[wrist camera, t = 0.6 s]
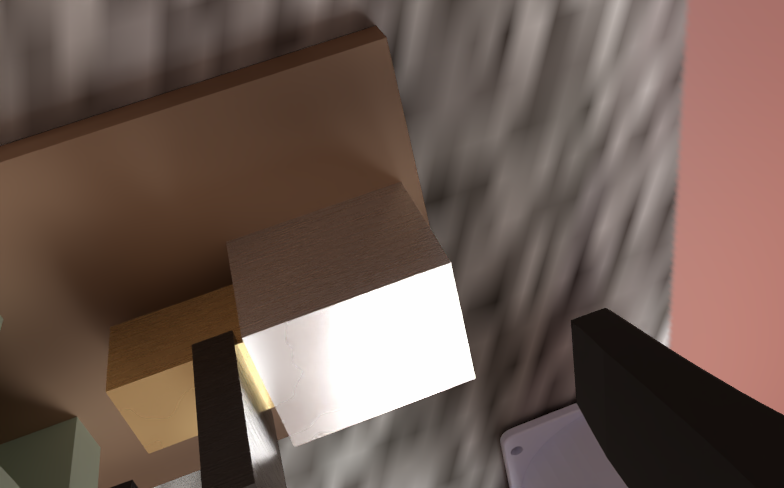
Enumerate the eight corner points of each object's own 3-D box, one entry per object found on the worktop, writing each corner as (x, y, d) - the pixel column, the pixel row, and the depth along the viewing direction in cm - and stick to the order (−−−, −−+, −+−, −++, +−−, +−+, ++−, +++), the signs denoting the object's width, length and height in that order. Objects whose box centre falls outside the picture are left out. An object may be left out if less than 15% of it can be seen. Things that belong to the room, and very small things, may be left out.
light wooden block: (417, 298, 21) (510, 481, 15) (153, 394, 20) (154, 623, 15) (396, 216, 19) (493, 391, 14) (105, 318, 18) (86, 548, 13)
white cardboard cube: (427, 289, 22) (475, 378, 18) (272, 345, 21) (294, 446, 18) (401, 181, 19) (450, 262, 16) (226, 242, 19) (241, 337, 16)
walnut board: (452, 351, 25) (462, 370, 24) (33, 508, 23) (29, 534, 23) (375, 25, 18) (386, 37, 17) (-233, 221, 16) (-253, 244, 15)
